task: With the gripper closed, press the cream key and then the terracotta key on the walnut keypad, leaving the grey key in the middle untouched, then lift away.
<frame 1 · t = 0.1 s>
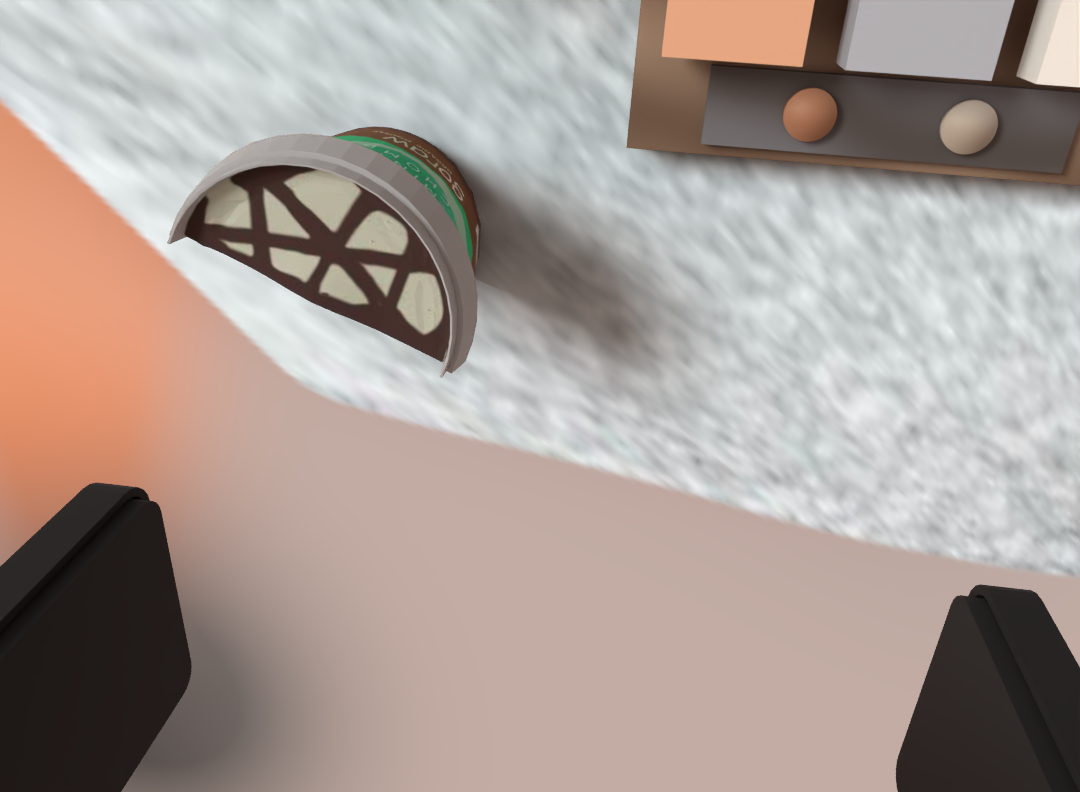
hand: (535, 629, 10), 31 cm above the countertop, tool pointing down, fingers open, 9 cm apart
food container: (407, 174, 40), on the countertop
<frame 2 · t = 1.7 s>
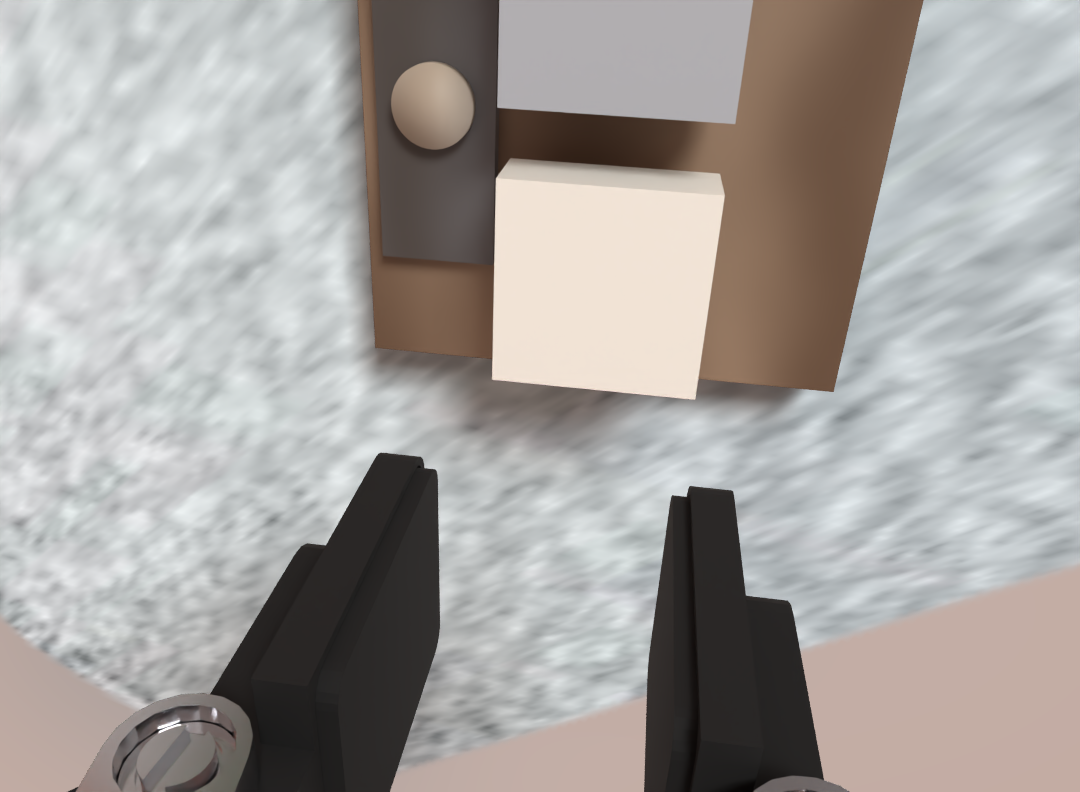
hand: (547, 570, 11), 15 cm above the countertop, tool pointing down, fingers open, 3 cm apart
cream key: (603, 279, 21), point 4 cm above the countertop, slide at 0.0 cm
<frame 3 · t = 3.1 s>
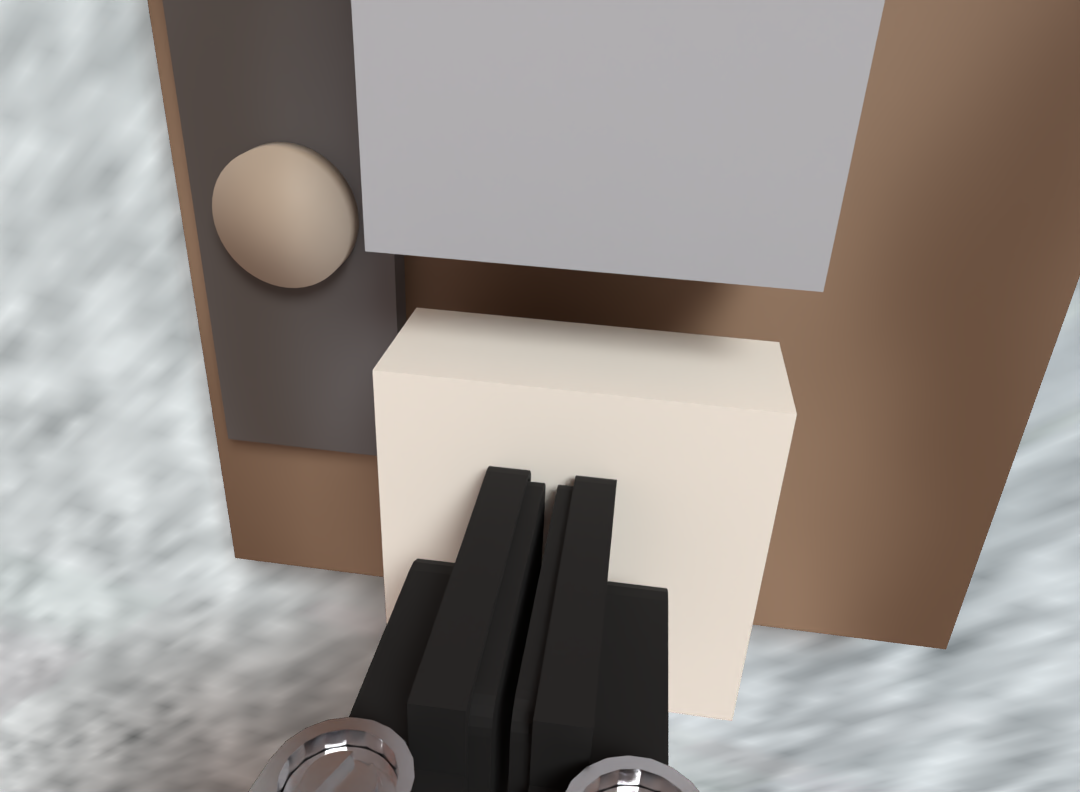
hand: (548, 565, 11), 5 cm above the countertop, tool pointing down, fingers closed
grey key: (613, 13, 9), point 4 cm above the countertop, slide at 0.0 cm
cream key: (575, 515, 12), point 4 cm above the countertop, slide at 0.0 cm, touching gripper
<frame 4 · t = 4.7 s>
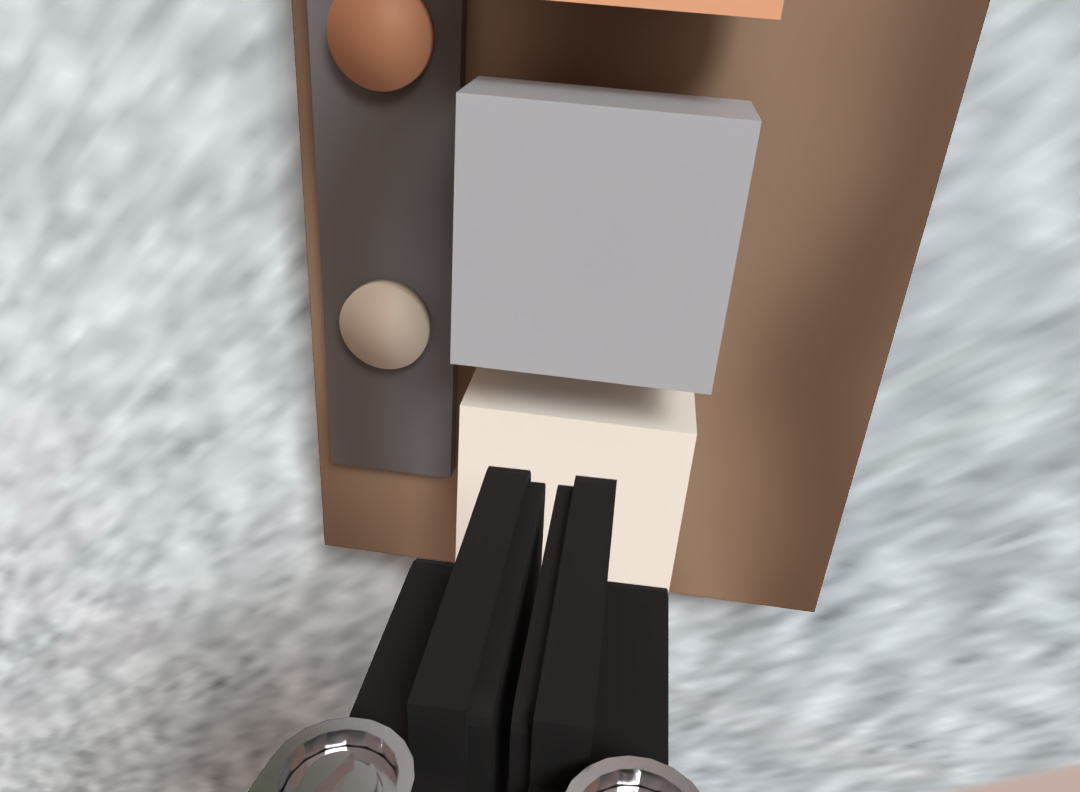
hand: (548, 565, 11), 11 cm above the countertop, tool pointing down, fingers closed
grey key: (595, 236, 16), point 4 cm above the countertop, slide at 0.0 cm
cream key: (571, 491, 20), point 3 cm above the countertop, slide at 1.1 cm
keypad board: (608, 181, 20), on the countertop
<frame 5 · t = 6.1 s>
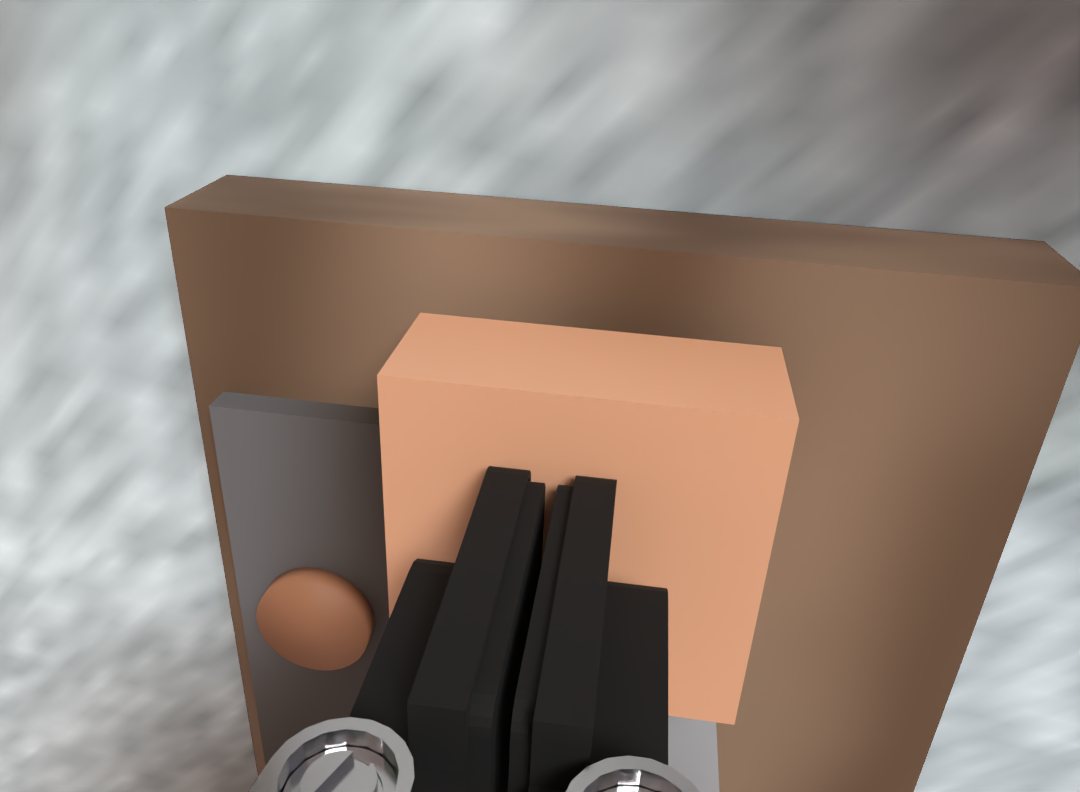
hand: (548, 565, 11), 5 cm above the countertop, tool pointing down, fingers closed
terracotta key: (577, 519, 12), point 4 cm above the countertop, slide at 0.6 cm, touching gripper
keypad board: (576, 666, 19), on the countertop
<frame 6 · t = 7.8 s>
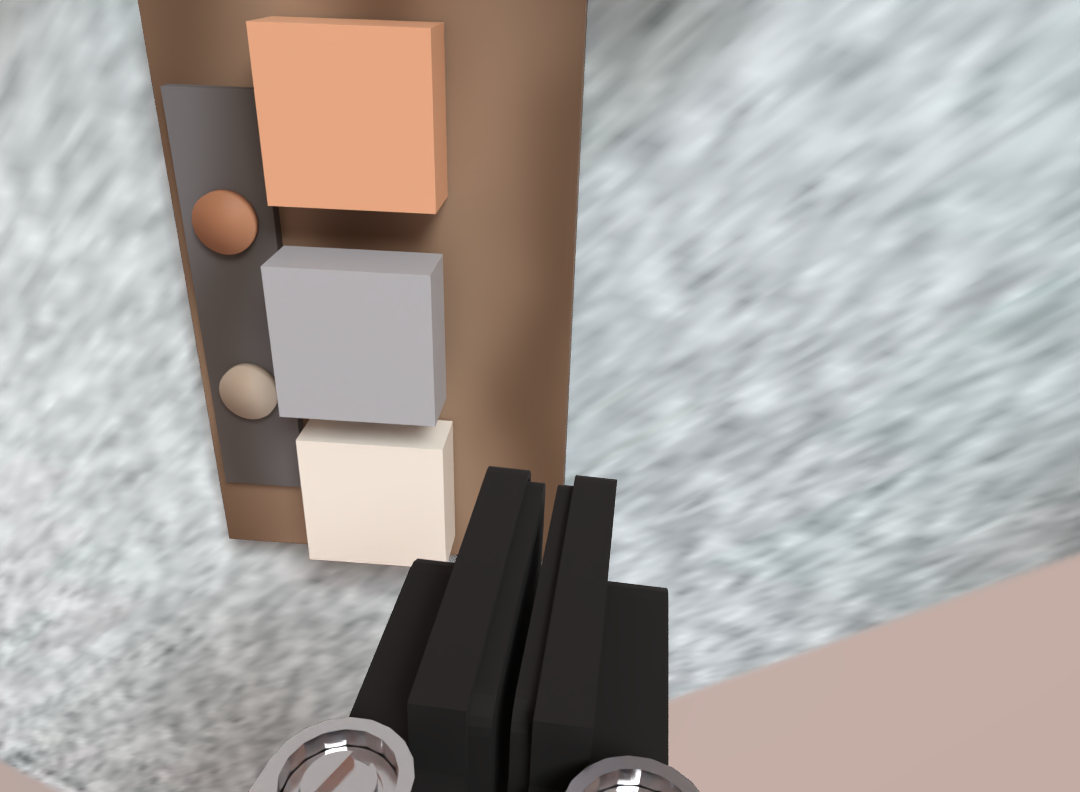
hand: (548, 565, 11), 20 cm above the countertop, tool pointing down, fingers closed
grey key: (359, 336, 27), point 4 cm above the countertop, slide at 0.0 cm
cream key: (380, 490, 31), point 3 cm above the countertop, slide at 1.1 cm
terracotta key: (354, 115, 25), point 3 cm above the countertop, slide at 1.1 cm
keypad board: (391, 289, 31), on the countertop
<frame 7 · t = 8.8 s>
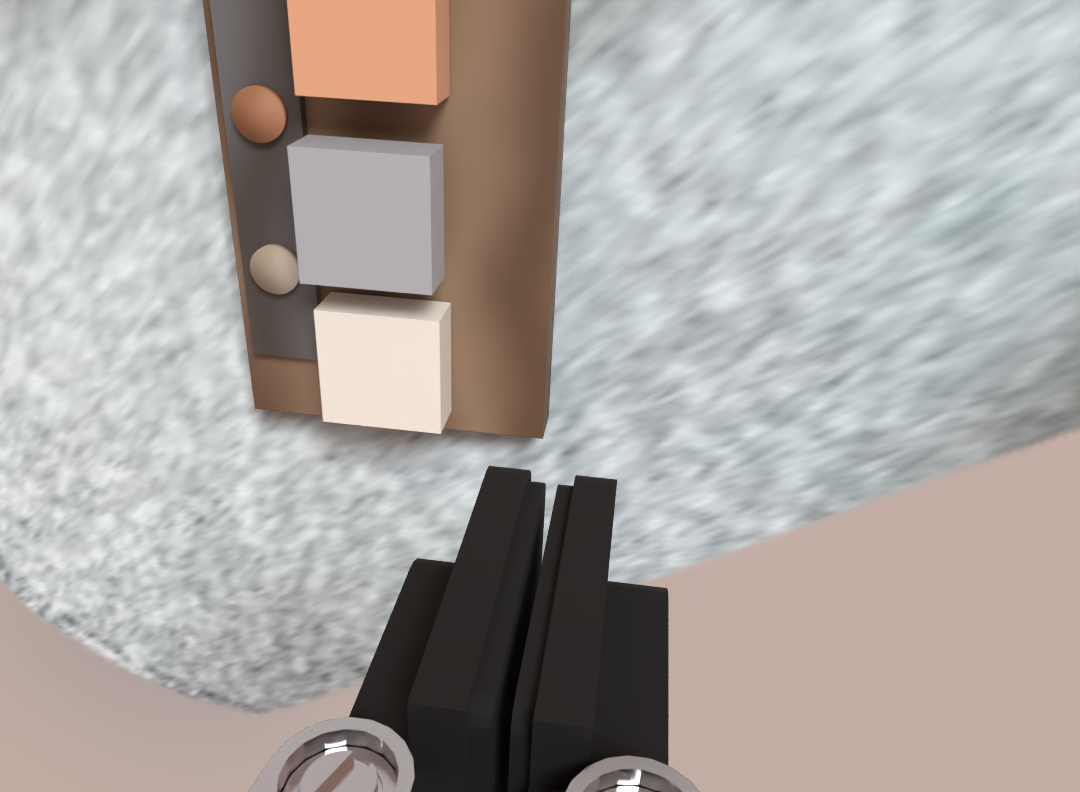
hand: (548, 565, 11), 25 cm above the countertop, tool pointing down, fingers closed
grey key: (370, 215, 31), point 4 cm above the countertop, slide at 0.0 cm
cream key: (386, 362, 36), point 3 cm above the countertop, slide at 1.1 cm
terracotta key: (370, 18, 29), point 3 cm above the countertop, slide at 1.1 cm
keypad board: (401, 186, 35), on the countertop
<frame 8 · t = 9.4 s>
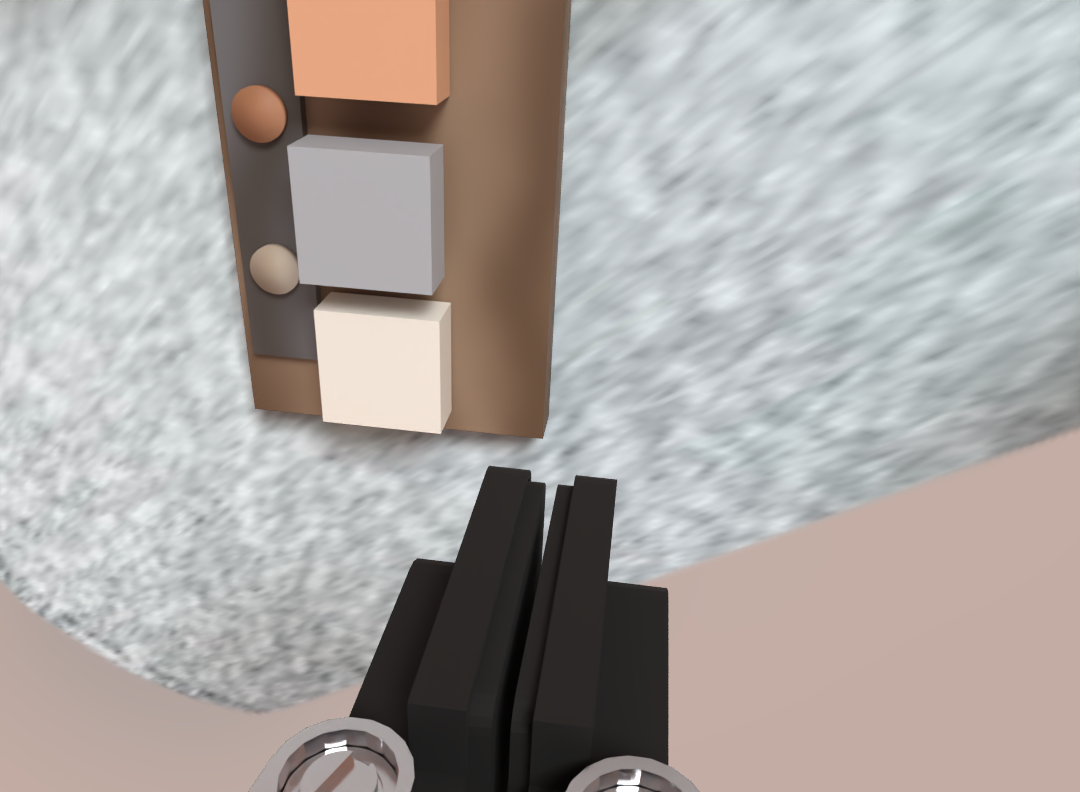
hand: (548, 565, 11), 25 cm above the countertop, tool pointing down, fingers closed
grey key: (370, 215, 31), point 4 cm above the countertop, slide at 0.0 cm
cream key: (386, 362, 36), point 3 cm above the countertop, slide at 1.1 cm
terracotta key: (370, 18, 29), point 3 cm above the countertop, slide at 1.1 cm
keypad board: (401, 186, 35), on the countertop
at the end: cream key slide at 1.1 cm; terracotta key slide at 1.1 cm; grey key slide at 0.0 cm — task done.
